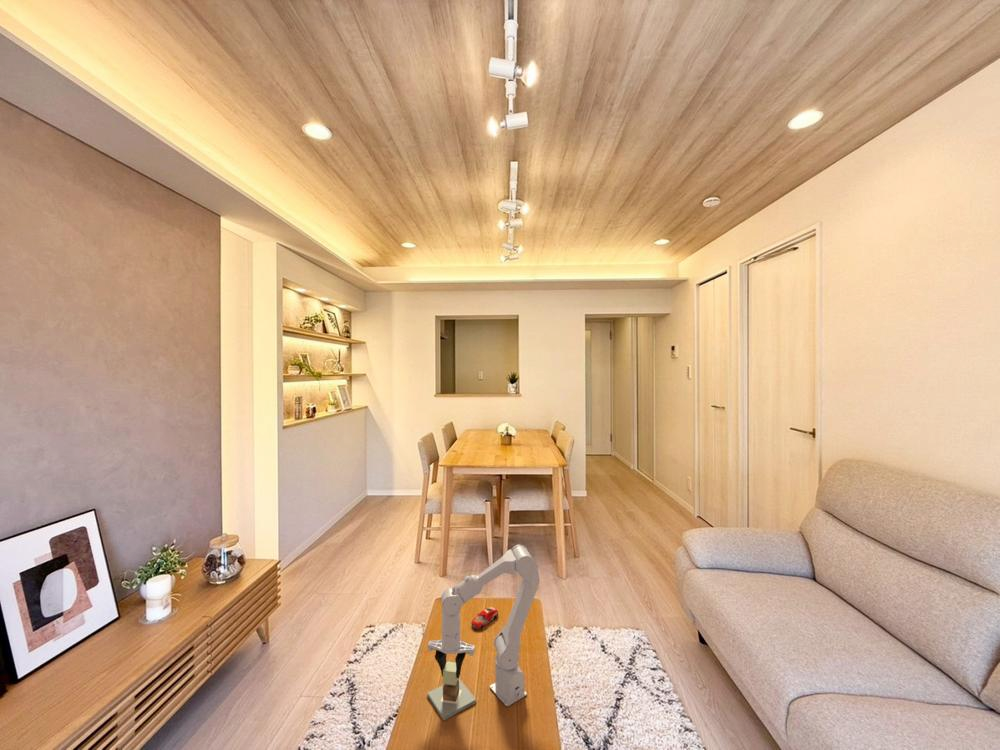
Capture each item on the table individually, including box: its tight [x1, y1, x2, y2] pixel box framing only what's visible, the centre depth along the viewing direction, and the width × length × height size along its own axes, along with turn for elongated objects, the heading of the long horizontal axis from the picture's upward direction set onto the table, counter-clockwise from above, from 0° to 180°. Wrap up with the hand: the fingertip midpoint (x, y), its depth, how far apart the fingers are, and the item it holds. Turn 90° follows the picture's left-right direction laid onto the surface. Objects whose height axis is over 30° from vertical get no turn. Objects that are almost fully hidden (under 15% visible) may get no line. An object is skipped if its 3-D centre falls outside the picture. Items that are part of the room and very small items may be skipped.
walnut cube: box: [442, 677, 460, 702], centre depth 121 cm, size 4×4×4 cm
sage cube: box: [442, 660, 458, 686], centre depth 122 cm, size 4×4×4 cm
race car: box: [471, 606, 499, 631], centre depth 161 cm, size 13×5×4 cm, turn 139°
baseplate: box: [426, 678, 477, 721], centre depth 121 cm, size 11×11×1 cm
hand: (451, 675), depth 121 cm, fingers closed on sage cube, 4 cm apart
